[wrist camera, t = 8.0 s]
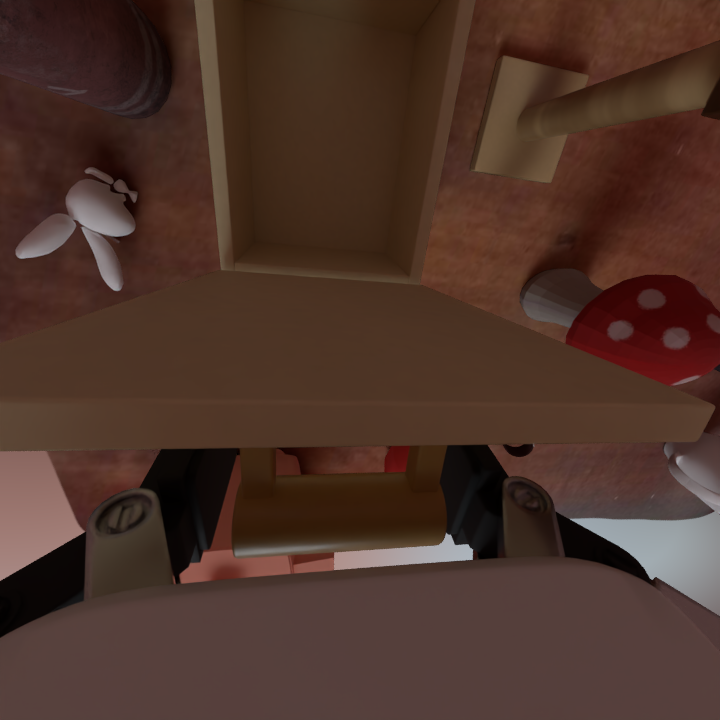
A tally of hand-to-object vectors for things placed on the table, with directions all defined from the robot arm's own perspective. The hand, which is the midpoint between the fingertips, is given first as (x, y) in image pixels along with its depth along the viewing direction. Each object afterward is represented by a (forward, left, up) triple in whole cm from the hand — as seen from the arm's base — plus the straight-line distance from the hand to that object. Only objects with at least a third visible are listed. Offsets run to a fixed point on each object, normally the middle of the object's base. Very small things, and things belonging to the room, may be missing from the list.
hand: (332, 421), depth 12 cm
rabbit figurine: (-13, -11, -20) cm, 26 cm away
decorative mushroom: (+14, +18, -20) cm, 31 cm away
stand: (-1, +20, -20) cm, 28 cm away
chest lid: (-3, +2, -3) cm, 5 cm away
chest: (-8, +6, -20) cm, 22 cm away
